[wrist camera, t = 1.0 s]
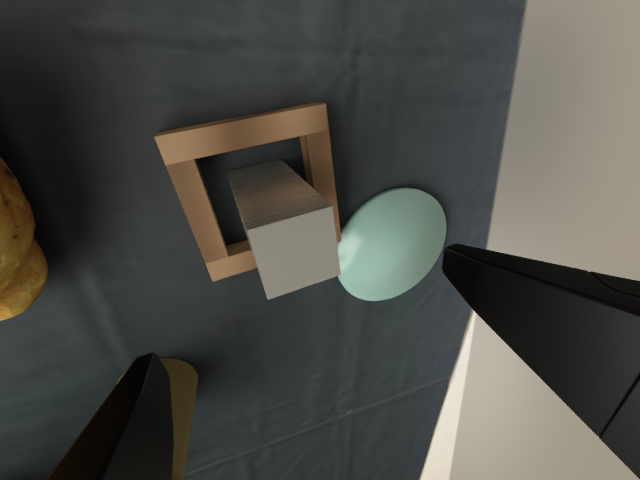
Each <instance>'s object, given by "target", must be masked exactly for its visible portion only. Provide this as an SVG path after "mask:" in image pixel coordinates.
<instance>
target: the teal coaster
mask: <svg viewBox="0 0 640 480" xmlns="http://www.w3.org/2000/svg"><path fill="white" fill-rule="evenodd" d="M445 237H446V218H445V214H444V211H443V209H442V207H441V205H440V204H439V202H438V201H437V200H436V199H435V198H434V197H432V196H431V195H429V194H427V193H425V192H423V191H421V190H419V189H415V188H410V187H398V188H393V189H389V190H386V191H383V192H381V193H379V194H377V195H375V196H373V197H372V198H370V199H368V200H367V201H366V202H364V203H363V204H362V205H361V206H360V207H359V208H358V209H357V210H356V211H355V212H354V213H353V214H352V215H351V216H350V218H349V219H348V220H347V222H346V223H345V225H344V226H343V228H342V230H341V241H340V242H337V247H338V255H339V263H340V271H341V275H338V276H337V277H338V279H339V280H340V282H341V284H342V285H343V286H344V288H345V289H346V290H347V291H348V292H349V293H351V294H352V295H353V296H355V297H357V298H360V299H363V300H368V301H380V300H386V299H390V298H393V297H396V296H398V295H400V294H402V293H404V292H406V291H407V290H409V289H410V288H412V287H413V286H415V285H416V284H417V283H418V282H419V281H420V280H422V279H423V278H424V277H425V275H426V274H427V273H428V272H429V271H430V270H431V268H432V267H433V265H434V264H435V262H436V261H437V259H438V257H439V255H440V253H441V250H442V248H443V245H444V241H445Z"/></svg>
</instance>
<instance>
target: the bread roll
mask: <svg viewBox="0 0 640 480" xmlns="http://www.w3.org/2000/svg"><path fill="white" fill-rule="evenodd" d="M34 228H35V221H34V217H33V213H32V210H31V206H30V203H29V201H28V200H27V198H26V197H25V196H24V194H23V192H22V189H21V187H20V184H19V183H18V181H17V179H16V177H15V176H14V174H13V173H12V171H11V170H10V169H9V167H8V166H7V165H6V163H5V162H4V160H3V159H2V158H1V157H0V321H2V320H5V319H8V318H11V317H13V316H16V315H18V314H20V313H21V312H23V311H24V310H26V309H27V308H28V307H29V306H30V305H31V304H32V303H33V302H34V301H35V300H36V299H37V298H38V297H39V295H40V293H41V290H42V289H43V287H44V285H45V284H46V279H47V273H48V266H47V261H46V258H45V256H44V254H43V251H42V249H41V247H40V246H39V245H38V243H37V241H36V240H35V238H34Z"/></svg>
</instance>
